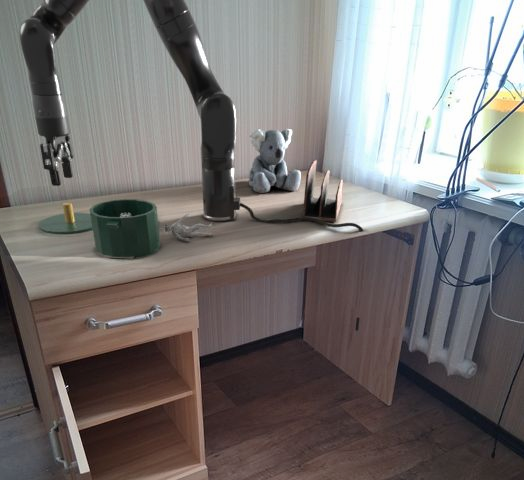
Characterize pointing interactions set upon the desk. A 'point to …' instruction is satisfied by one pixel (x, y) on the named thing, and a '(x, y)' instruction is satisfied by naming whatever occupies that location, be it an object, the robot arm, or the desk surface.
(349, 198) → the desk surface
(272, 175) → the koala plush
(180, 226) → the soldier figure
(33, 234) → the desk surface
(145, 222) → the pot
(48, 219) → the lid
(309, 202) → the letter holder
